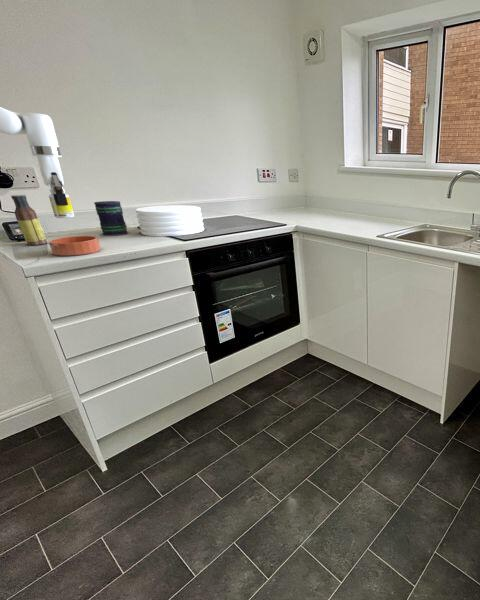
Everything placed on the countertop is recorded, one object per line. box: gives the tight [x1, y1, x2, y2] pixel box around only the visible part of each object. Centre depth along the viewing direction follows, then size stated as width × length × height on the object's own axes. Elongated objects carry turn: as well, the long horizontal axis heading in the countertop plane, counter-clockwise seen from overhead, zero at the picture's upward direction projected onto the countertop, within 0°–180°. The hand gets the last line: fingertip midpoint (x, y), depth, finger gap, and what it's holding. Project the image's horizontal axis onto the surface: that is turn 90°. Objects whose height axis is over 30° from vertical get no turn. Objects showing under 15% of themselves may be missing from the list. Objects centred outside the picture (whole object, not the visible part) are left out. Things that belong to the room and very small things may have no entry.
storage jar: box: [93, 200, 129, 237], centre depth 168 cm, size 10×10×15 cm
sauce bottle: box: [10, 194, 48, 246], centre depth 143 cm, size 7×6×20 cm
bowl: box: [48, 235, 102, 257], centre depth 136 cm, size 14×14×5 cm
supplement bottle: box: [48, 188, 75, 219], centre depth 130 cm, size 6×6×10 cm
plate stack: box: [135, 204, 205, 237], centre depth 180 cm, size 28×28×12 cm
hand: (61, 203), depth 130 cm, fingers closed on supplement bottle, 5 cm apart
